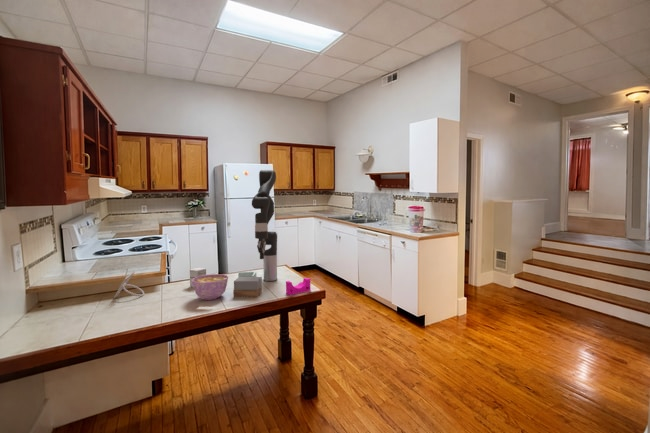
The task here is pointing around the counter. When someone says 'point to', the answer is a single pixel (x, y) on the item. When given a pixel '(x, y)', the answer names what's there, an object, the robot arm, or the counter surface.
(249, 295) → the tower bottom
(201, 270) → the supplement box
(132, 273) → the wire frame
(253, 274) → the right angle wall
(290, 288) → the toy block
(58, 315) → the counter surface
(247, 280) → the tower top
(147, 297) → the counter surface
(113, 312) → the counter surface
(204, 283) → the bowl of food
